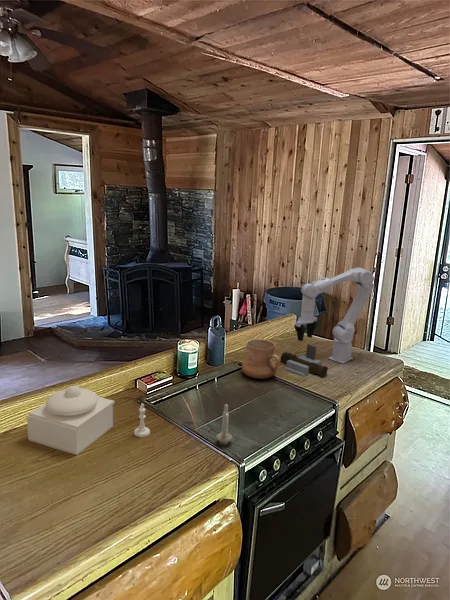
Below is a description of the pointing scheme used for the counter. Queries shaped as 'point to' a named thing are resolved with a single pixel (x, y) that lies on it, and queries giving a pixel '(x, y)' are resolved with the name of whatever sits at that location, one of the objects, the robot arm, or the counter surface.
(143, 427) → the chess piece
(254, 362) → the ceramic jug
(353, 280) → the robot arm
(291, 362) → the fixed jaw
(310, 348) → the free jaw
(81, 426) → the butter dish
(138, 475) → the counter surface
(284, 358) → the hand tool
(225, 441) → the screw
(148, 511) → the counter surface
